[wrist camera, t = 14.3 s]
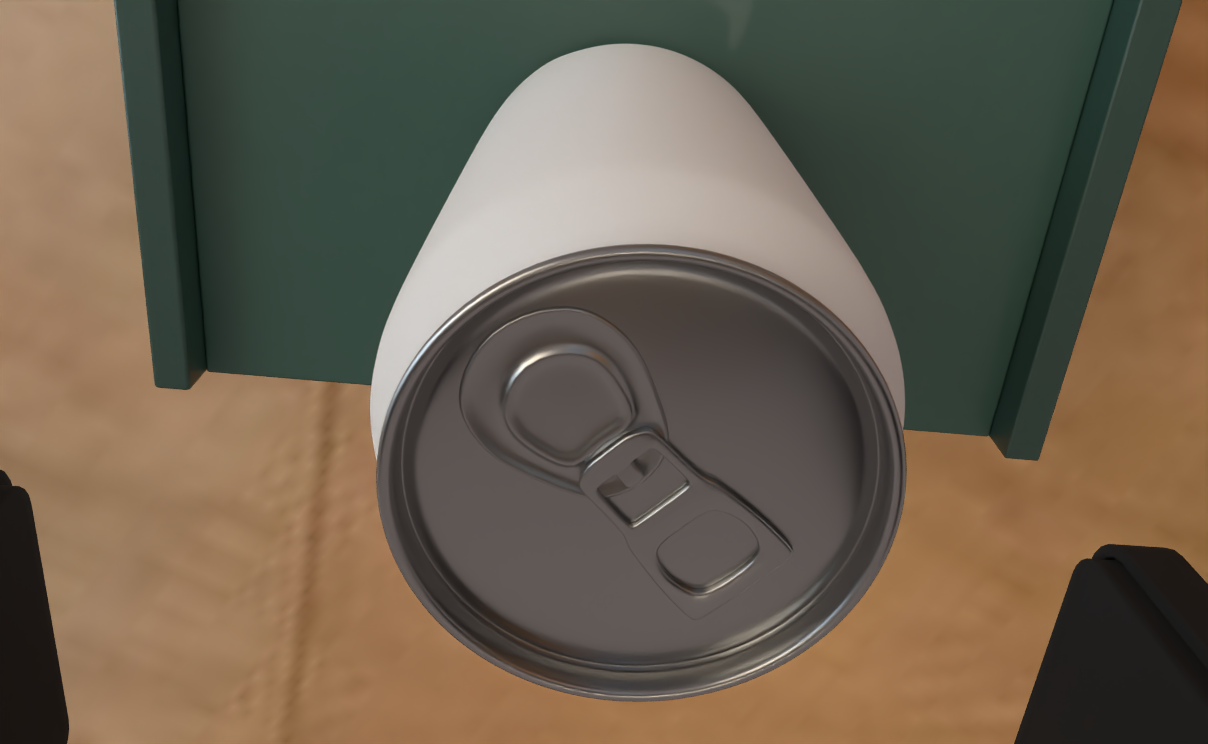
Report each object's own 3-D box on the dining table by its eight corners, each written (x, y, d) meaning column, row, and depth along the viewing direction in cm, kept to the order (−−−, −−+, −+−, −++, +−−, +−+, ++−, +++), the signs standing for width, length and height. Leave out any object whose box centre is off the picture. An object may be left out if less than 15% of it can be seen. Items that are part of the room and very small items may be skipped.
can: (641, -33, 20) (682, 51, 9) (836, 210, 22) (1068, 524, 11) (408, 183, 21) (205, 476, 11) (609, 390, 24) (612, 812, 13)
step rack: (267, -416, 25) (44, -622, 15) (1053, -329, 26) (1331, -470, 16) (293, 237, 32) (153, 388, 22) (909, 292, 33) (1039, 461, 23)
